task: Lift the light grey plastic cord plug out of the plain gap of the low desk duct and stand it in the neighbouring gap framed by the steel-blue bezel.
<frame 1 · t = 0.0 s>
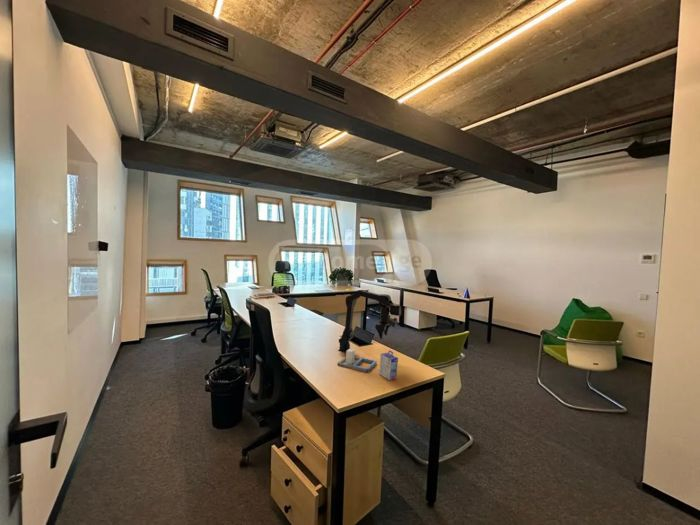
hand: (383, 337, 193), 15 cm above the table, fingers open, 9 cm apart
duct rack: (357, 364, 182), on the table
cord plug: (350, 362, 184), resting in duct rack
ink cartridge box: (387, 376, 167), on the table
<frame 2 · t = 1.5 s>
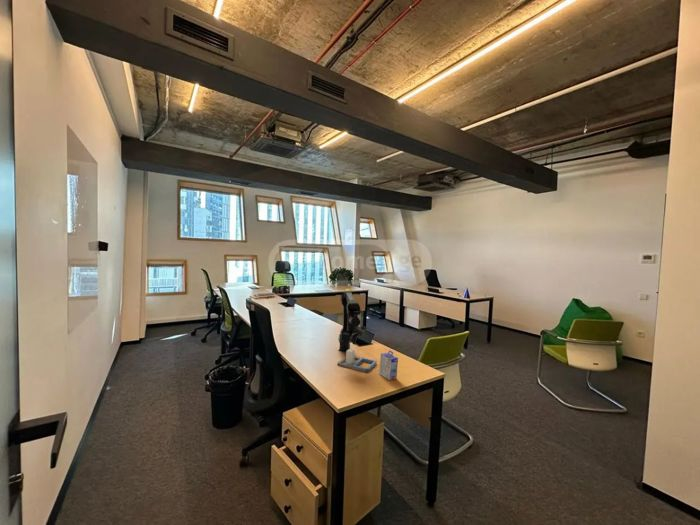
hand: (350, 346, 184), 10 cm above the table, fingers open, 9 cm apart
nothing on the table moved.
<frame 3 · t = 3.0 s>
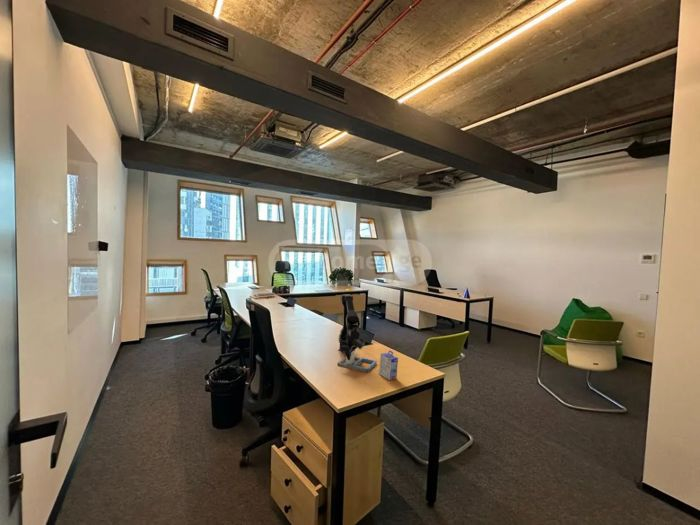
hand: (350, 358, 184), 3 cm above the table, fingers closed on cord plug, 4 cm apart
cord plug: (350, 362, 184), resting in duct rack, touching gripper
everything else where it was.
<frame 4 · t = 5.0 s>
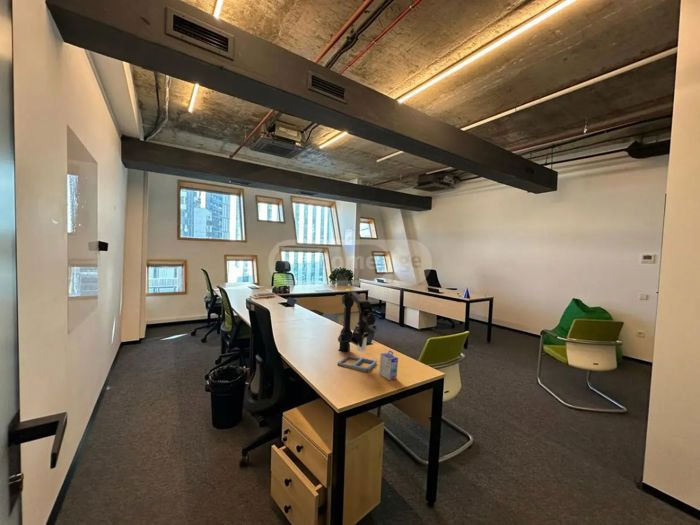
hand: (362, 346, 180), 12 cm above the table, fingers closed on cord plug, 4 cm apart
cord plug: (361, 350, 180), point 10 cm above the table, touching gripper
everything else where it was.
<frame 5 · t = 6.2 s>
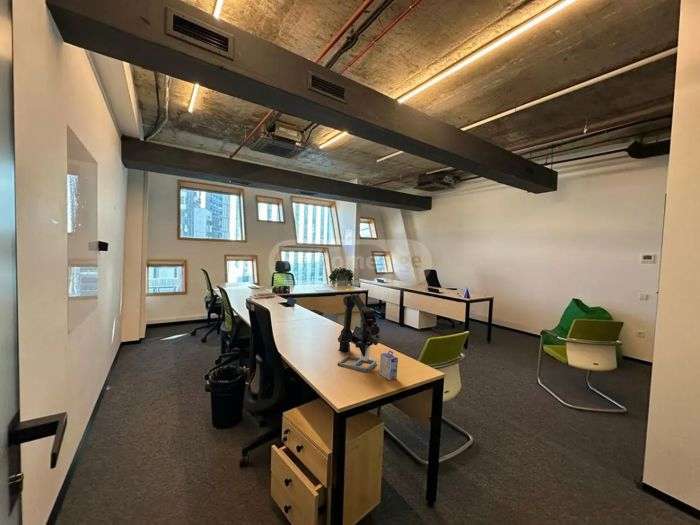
hand: (365, 355, 180), 7 cm above the table, fingers closed on cord plug, 4 cm apart
cord plug: (364, 359, 180), point 4 cm above the table, touching gripper
everything else where it was.
when the fingers open (4 cm above the table, at t = 7.0 s): cord plug drops 1 cm, resting in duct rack.
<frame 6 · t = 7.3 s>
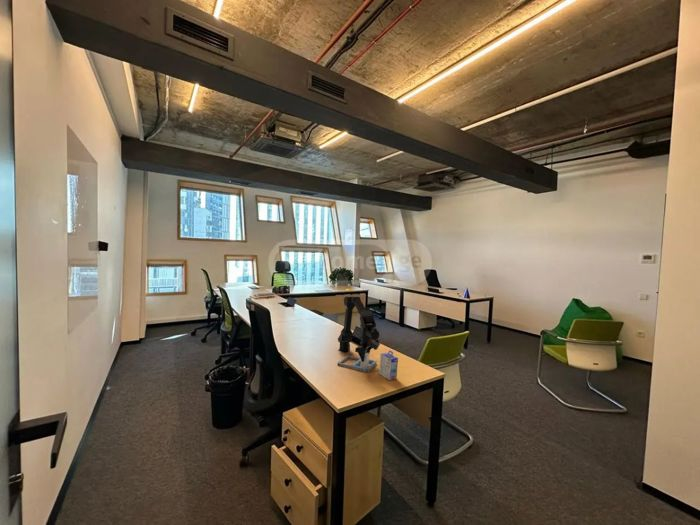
hand: (364, 359, 180), 4 cm above the table, fingers open, 7 cm apart
cord plug: (364, 366, 180), resting in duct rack
everything else where it was.
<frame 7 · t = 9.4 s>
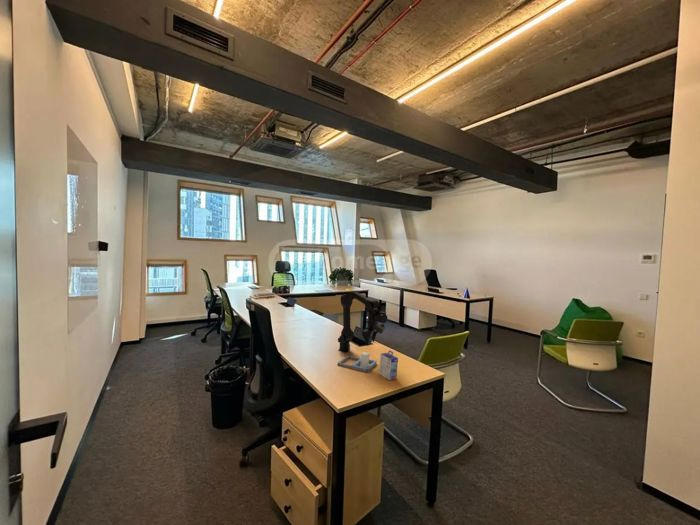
hand: (370, 343, 187), 12 cm above the table, fingers open, 9 cm apart
nothing on the table moved.
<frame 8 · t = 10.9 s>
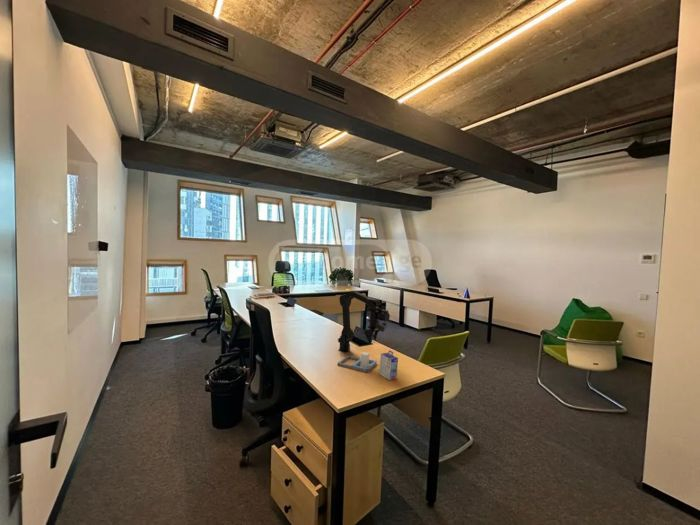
hand: (372, 341, 190), 12 cm above the table, fingers open, 9 cm apart
nothing on the table moved.
at the end: cord plug 0.0 cm from the target spot on the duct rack, point 0.0 cm above the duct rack's base; cord plug tilted 0°; the gripper is holding nothing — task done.
